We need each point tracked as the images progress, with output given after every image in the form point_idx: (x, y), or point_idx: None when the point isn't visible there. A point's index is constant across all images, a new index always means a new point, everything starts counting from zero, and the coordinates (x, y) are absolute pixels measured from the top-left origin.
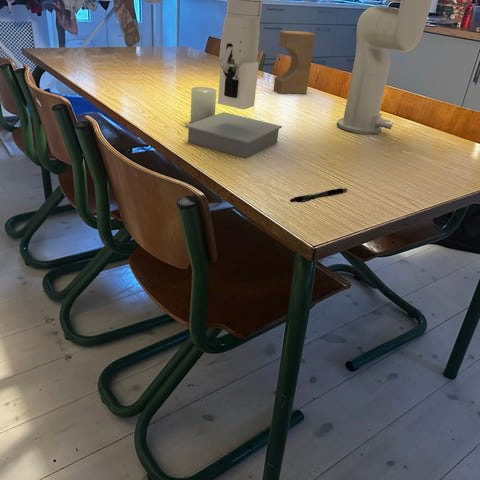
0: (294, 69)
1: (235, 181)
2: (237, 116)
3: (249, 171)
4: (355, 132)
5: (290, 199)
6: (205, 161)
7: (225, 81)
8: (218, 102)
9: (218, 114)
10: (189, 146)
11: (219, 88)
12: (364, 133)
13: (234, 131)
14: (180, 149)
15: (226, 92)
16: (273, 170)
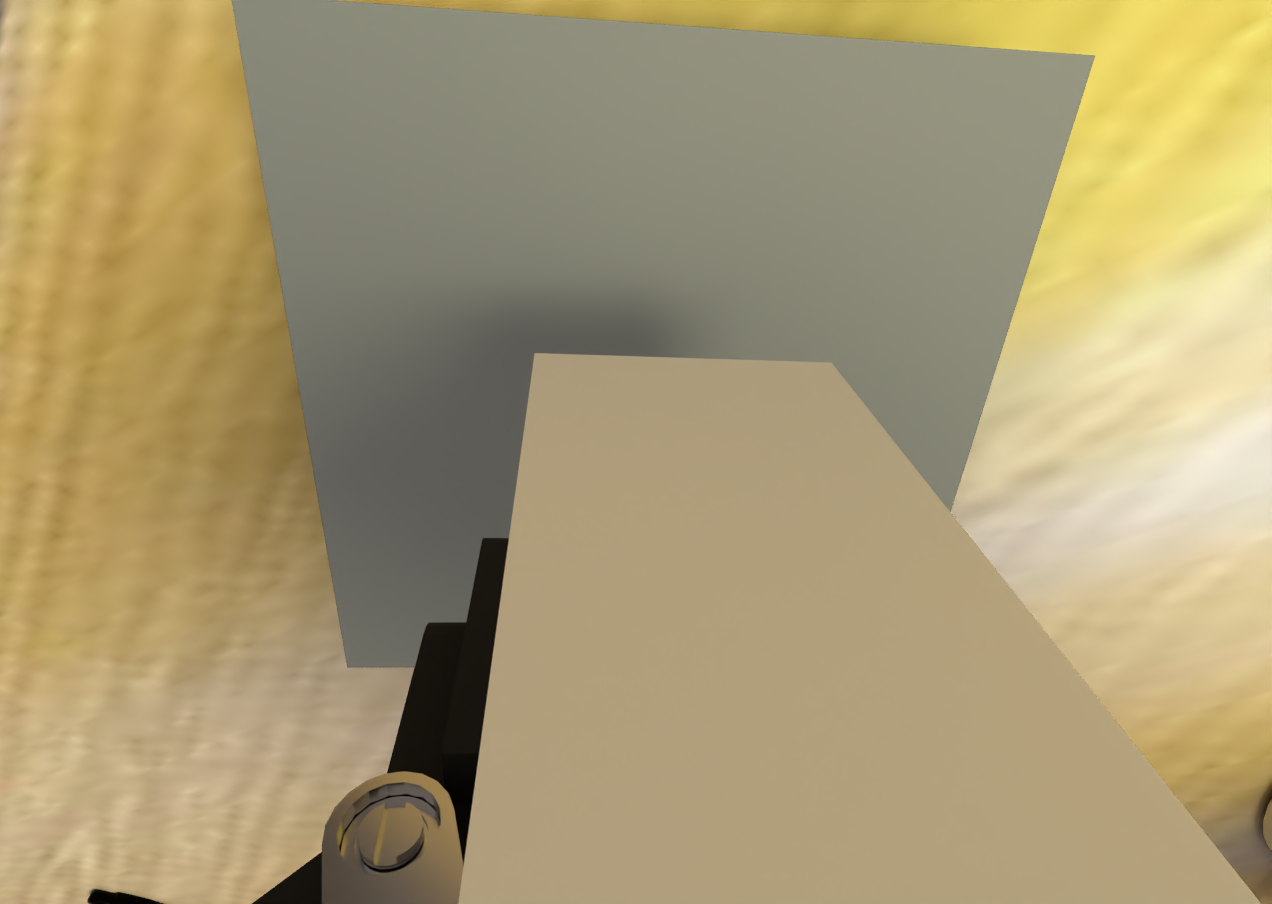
0: None
1: (29, 679)
2: (985, 282)
3: (221, 668)
4: (1269, 802)
5: (89, 898)
6: (97, 414)
7: (454, 699)
8: (536, 365)
9: (951, 60)
10: (241, 121)
11: (522, 467)
12: (1264, 834)
13: (489, 492)
14: (103, 100)
15: (426, 627)
16: (349, 736)
